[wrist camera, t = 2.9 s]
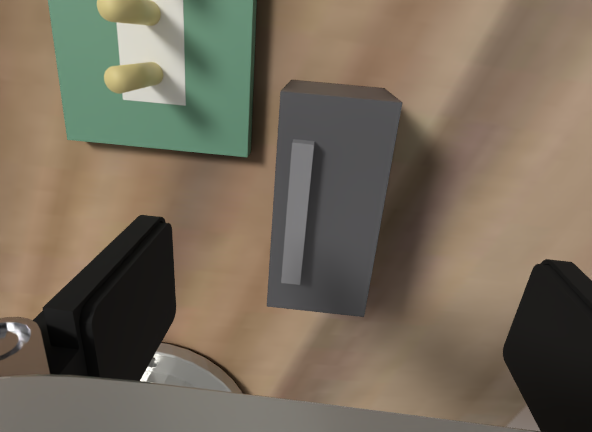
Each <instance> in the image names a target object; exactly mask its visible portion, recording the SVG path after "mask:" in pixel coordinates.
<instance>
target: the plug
mask: <svg viewBox="0 0 592 432" xmlns="http://www.w3.org/2000/svg"><path fill="white" fill-rule="evenodd" d="M401 107H402V102H401V101H400V100H399V99H397V98H396V97H395V96H393V95H392V94H391V93H390V92H388V91H387V90H386V89H385V88H376V87H365V86H354V85H343V84H332V83H322V82H311V81H300V80H291V81H290V82H289V83H288V84H287V85H286V86H285V87H284V88H283V89H282V90H281V93H280V109H279V124H278V140H277V155H276V171H275V186H274V202H273V218H272V233H271V249H270V264H269V280H268V295H267V306H268V307H277V308H287V309H296V310H305V311H314V312H323V313H332V314H341V315H351V316H360V317H364V314H365V308H366V303H367V297H368V292H369V286H370V281H371V275H372V269H373V264H374V258H375V253H376V247H377V241H378V236H379V230H380V225H381V219H382V213H383V208H384V202H385V197H386V191H387V186H388V180H389V174H390V169H391V163H392V158H393V152H394V146H395V141H396V135H397V130H398V124H399V118H400V113H401Z"/></svg>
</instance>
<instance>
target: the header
mask: <svg viewBox="0 0 592 432" xmlns="http://www.w3.org/2000/svg"><path fill="white" fill-rule="evenodd" d="M48 4H49V11H50V18H51V26H52V33H53V40H54V47H55V54H56V62H57V69H58V76H59V83H60V90H61V97H62V105H63V112H64V119H65V126H66V133H67V140H76V141H86V142H96V143H107V144H117V145H127V146H137V147H147V148H157V149H168V150H178V151H188V152H198V153H208V154H219V155H229V156H239V157H248V156H249V154H250V153H251V135H252V110H253V84H254V58H255V33H256V7H257V0H48Z"/></svg>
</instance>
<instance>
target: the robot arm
mask: <svg viewBox="0 0 592 432" xmlns="http://www.w3.org/2000/svg"><path fill="white" fill-rule="evenodd" d="M175 313H176V297H175V278H174V259H173V240H172V227H171V224H170V223H165V220H164V218H163V217H155V216H146V215H140V216H138V217H137V218H136V219H135V220H134V221H133V222H132V223H131V224H130V225H129V226H128V227H127V228H126V229H125V230H124V231H123V232H122V233H121V234H120V235H118V236H117V237H116V238H115V239H114V240H113V241H112V242H111V243H110V244H109V245H108V246H107V247H106V248H105V249H104V250H103V251H102V252H101V253H100V254H99V255H97V256H96V257H95V258H94V259H93V260H92V261H91V262H90V263H89V264H88V265H87V266H86V267H85V268H84V269H83V270H82V271H81V272H80V273H79V274H77V275H76V276H75V277H74V278H73V279H72V280H71V281H70V282H69V283H68V284H67V285H66V286H65V287H64V288H63V289H62V290H61V291H60V292H59V293H58V294H56V295H55V296H54V297H53V298H52V299H51V300H50V301H49V302H48V303H47V304H46V305H45V306H44V307H43V311H42V312H41V313H40V314H39V315H38V316H37V317H36V318H35V319H34V320H33V321H32V320H30V319H27V318H22V317H6V318H0V432H538V431H531V430H523V429H516V428H509V427H501V426H493V425H485V424H477V423H469V422H462V421H454V420H446V419H438V418H430V417H423V416H415V415H407V414H399V413H391V412H383V411H376V410H368V409H360V408H352V407H344V406H336V405H328V404H320V403H312V402H305V401H297V400H289V399H281V398H273V397H266V396H258V395H249V394H243V393H242V392H241V390H240V389H239V387H238V386H237V385H236V383H235V382H234V381H233V379H231V378H230V377H229V376H228V375H227V374H226V373H225V372H224V371H223V370H222V369H221V368H219V367H218V366H217V365H215V364H214V363H212V362H211V361H209V360H208V359H206V358H204V357H202V356H200V355H198V354H196V353H194V352H192V351H190V350H187V349H184V348H180V347H177V346H174V345H171V344H165V343H161V342H162V340H163V338H164V336H165V335H166V333H167V331H168V329H169V327H170V326H171V324H172V322H173V320H174V317H175ZM503 357H504V361H505V363H506V365H507V367H508V369H509V371H510V373H511V375H512V376H513V378H514V380H515V382H516V384H517V386H518V388H519V390H520V392H521V394H522V396H523V398H524V400H525V402H526V404H527V406H528V407H529V409H530V411H531V413H532V415H533V417H534V419H535V421H536V423H537V425H538V427H539V428H540V431H541V432H592V281H591V280H590V279H589V278H588V277H587V276H586V275H585V274H584V273H583V272H582V271H581V270H580V269H579V268H578V267H577V266H576V265H575V264H573V263H572V262H566V261H557V260H548V259H546V260H544V261H543V262H542V263H541V264H537V265H535V266H534V268H533V270H532V272H531V275H530V278H529V280H528V283H527V286H526V288H525V291H524V294H523V296H522V299H521V301H520V304H519V307H518V309H517V312H516V315H515V317H514V320H513V323H512V325H511V328H510V331H509V333H508V336H507V339H506V341H505V344H504V347H503Z"/></svg>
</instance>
